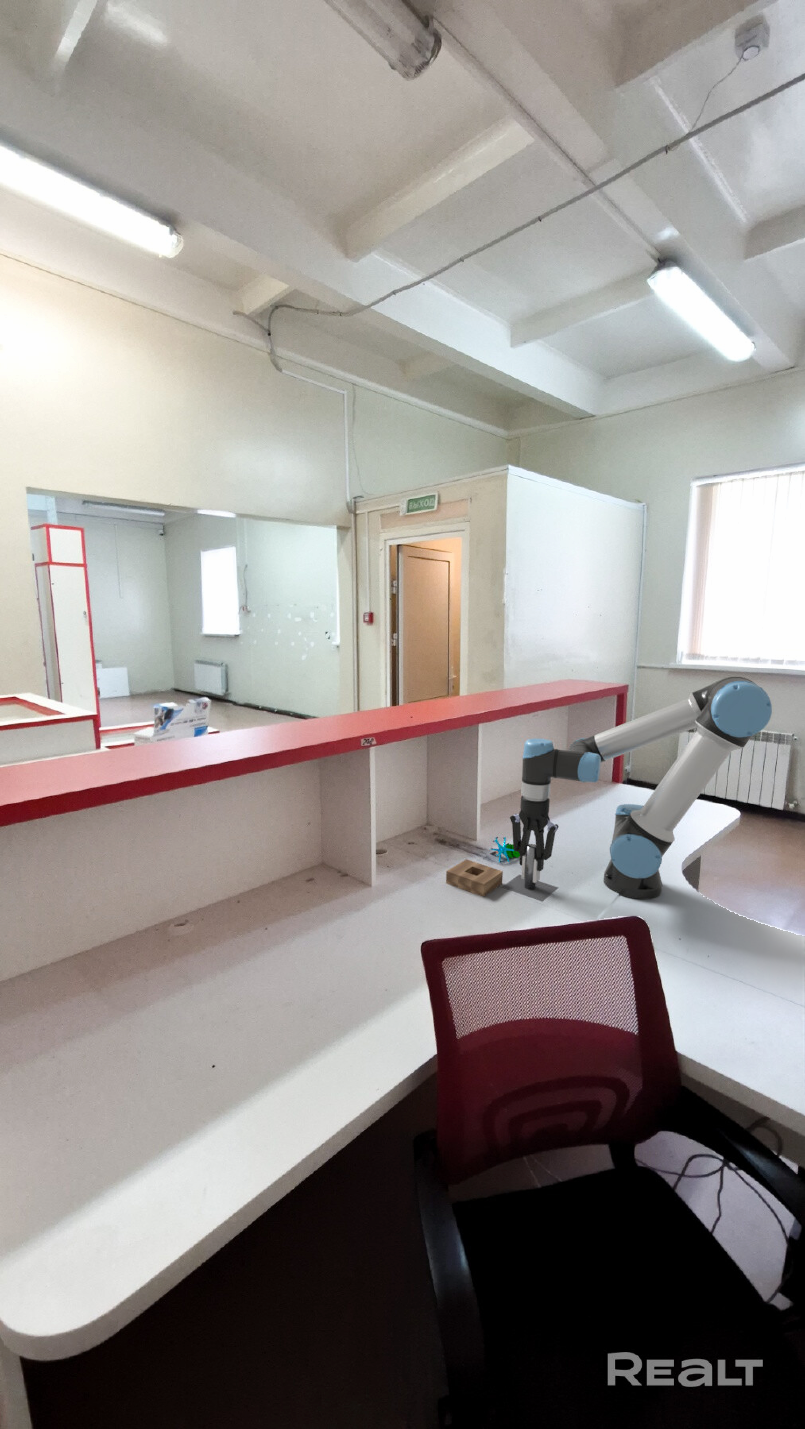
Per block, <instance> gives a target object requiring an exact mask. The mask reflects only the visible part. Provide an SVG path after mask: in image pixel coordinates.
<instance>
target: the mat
mask: <svg viewBox="0 0 805 1429" xmlns="http://www.w3.org/2000/svg"><path fill="white" fill-rule="evenodd" d="M521 875H522V874H518V875H517V876H515V877H513V878H512V879H511V880H510V881H508V882H507V883H505V884H504V885H503V886H501V888H503V889H505V890H508V891H511V892H514V893H517V894H520V895H523V896H526V897H528V898H531V899H534V900H536V901H539V902H544V900H546V899H547V898H548V897H549V896H550V895H552V894H553V893H554V892H555V891H556V890H558V889H559V887H558V886H555V885H552V884H548V883H546V882H543V881H539V880H538V881H537V882H536V888H535V889H534V890H528V889H526V888H525V887H524V884H525V879H522V878H521Z"/></svg>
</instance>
